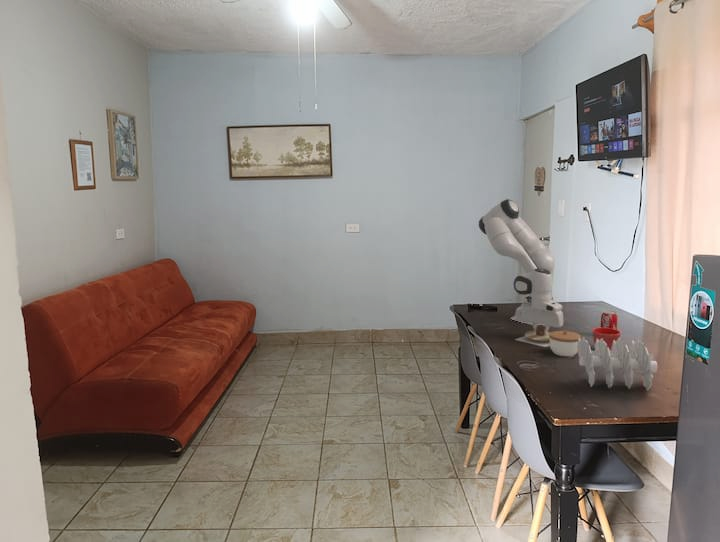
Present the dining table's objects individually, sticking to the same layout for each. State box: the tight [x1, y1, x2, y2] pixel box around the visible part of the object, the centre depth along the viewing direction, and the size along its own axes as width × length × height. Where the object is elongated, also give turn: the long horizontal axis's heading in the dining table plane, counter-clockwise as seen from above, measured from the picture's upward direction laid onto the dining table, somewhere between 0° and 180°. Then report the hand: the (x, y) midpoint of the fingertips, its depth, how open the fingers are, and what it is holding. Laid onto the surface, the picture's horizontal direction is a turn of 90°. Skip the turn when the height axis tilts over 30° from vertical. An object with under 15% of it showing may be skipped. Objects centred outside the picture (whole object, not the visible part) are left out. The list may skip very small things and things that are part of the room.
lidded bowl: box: [549, 329, 582, 359], centre depth 217 cm, size 13×13×11 cm
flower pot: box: [592, 327, 622, 350], centre depth 220 cm, size 11×11×10 cm
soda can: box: [600, 310, 618, 330], centre depth 242 cm, size 7×7×12 cm
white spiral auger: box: [577, 336, 658, 391], centre depth 183 cm, size 18×18×25 cm
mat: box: [514, 335, 550, 348], centre depth 238 cm, size 16×16×1 cm
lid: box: [524, 325, 551, 341], centre depth 238 cm, size 14×14×4 cm
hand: (540, 333), depth 238 cm, fingers closed on lid, 3 cm apart
